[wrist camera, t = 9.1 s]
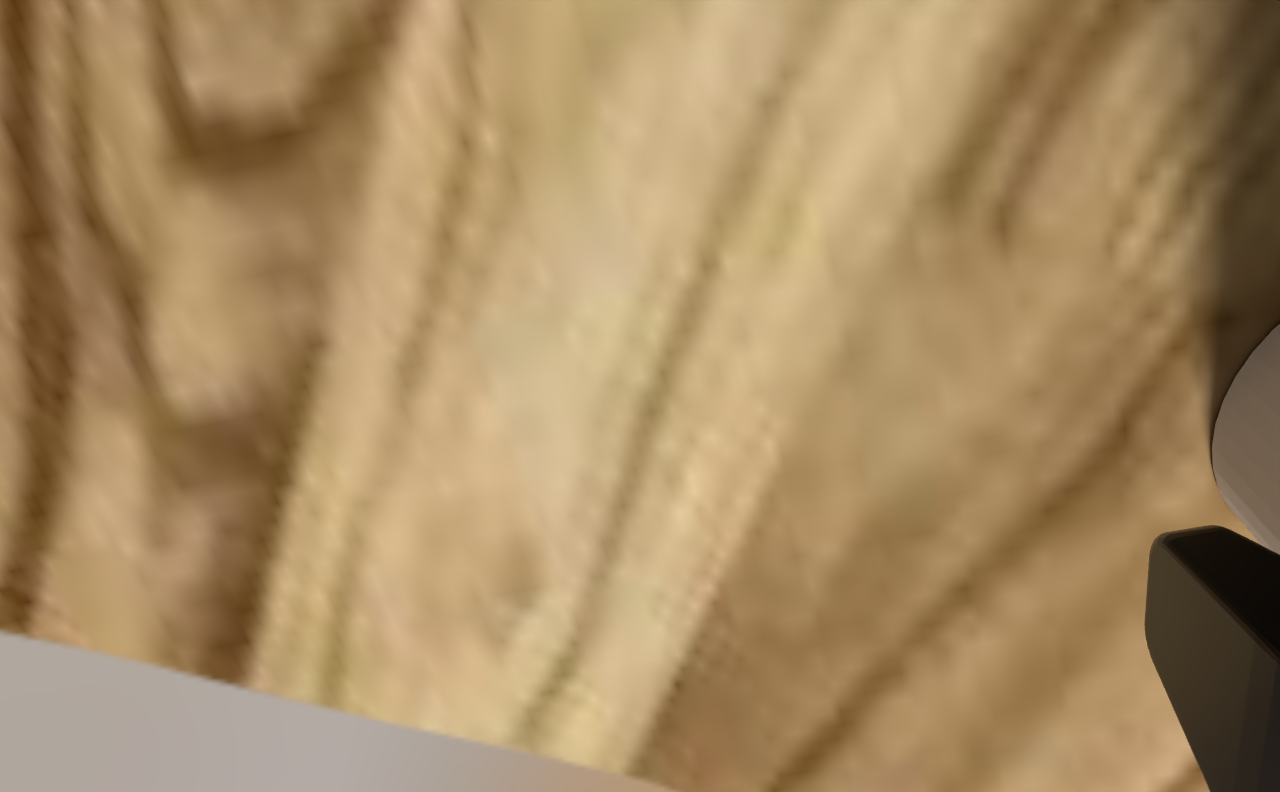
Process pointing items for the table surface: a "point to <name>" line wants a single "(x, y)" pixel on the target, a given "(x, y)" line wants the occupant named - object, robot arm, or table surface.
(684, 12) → the table surface
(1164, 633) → the robot arm
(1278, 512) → the grey tall wavy piece
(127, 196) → the table surface
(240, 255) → the table surface
